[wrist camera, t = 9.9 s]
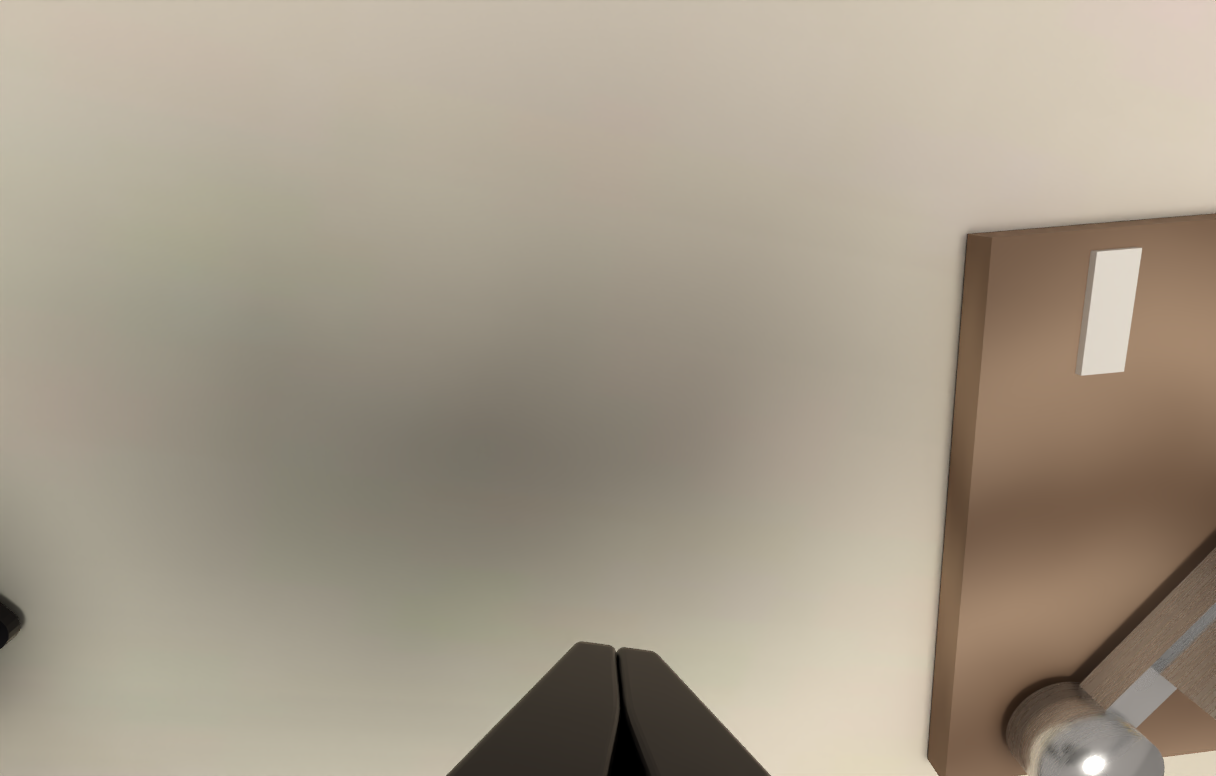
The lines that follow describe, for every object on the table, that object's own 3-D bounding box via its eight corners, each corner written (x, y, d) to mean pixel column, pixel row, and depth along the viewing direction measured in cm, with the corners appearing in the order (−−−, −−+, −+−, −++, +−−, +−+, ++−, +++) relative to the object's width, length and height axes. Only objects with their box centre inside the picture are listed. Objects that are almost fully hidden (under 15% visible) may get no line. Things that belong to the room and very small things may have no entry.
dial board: (1349, 705, 23) (1391, 733, 22) (927, 758, 22) (948, 790, 21) (1497, 190, 18) (1560, 191, 17) (967, 233, 17) (997, 238, 16)
